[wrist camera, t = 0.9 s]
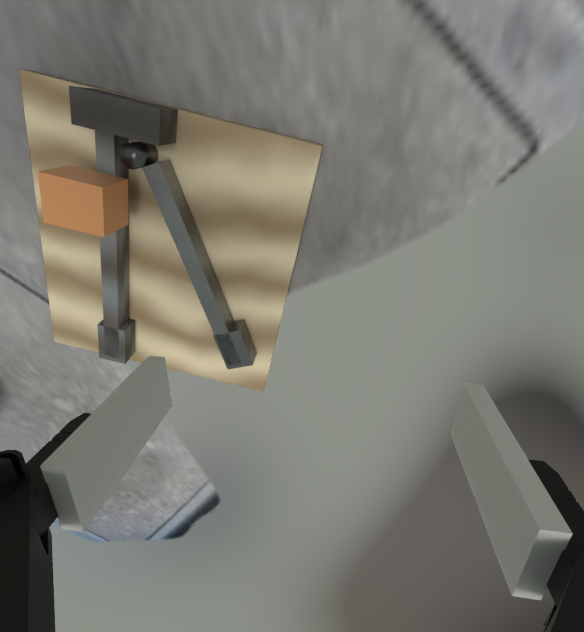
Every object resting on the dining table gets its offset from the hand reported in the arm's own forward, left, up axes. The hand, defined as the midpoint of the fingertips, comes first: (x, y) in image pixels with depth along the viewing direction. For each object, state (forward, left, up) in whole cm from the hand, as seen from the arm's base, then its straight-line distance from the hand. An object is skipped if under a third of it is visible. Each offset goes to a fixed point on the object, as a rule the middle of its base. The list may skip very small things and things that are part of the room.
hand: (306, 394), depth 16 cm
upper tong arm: (+5, -11, -21) cm, 24 cm away
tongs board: (+6, -15, -23) cm, 28 cm away
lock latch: (0, -20, -19) cm, 27 cm away
